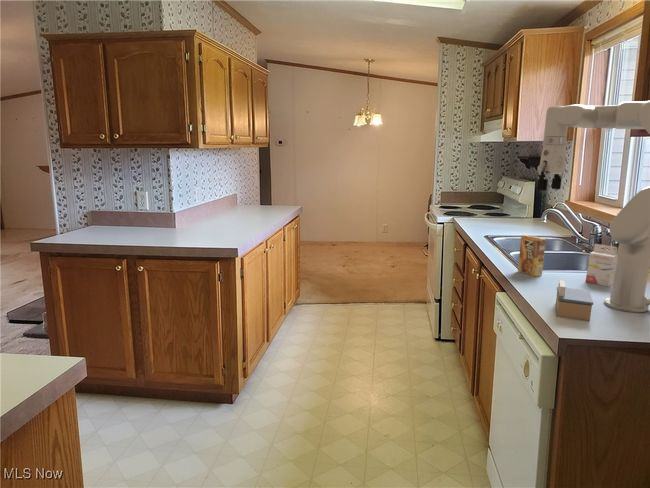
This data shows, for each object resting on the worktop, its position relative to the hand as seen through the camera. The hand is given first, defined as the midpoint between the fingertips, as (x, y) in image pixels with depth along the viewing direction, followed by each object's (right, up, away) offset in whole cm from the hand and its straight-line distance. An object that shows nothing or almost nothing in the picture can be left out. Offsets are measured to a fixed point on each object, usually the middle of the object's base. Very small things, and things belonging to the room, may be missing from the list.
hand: (548, 189), depth 181 cm
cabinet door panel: (-3, -37, -25) cm, 44 cm away
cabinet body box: (-4, -42, -24) cm, 48 cm away
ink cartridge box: (+24, -35, +11) cm, 44 cm away
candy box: (+2, -32, +22) cm, 39 cm away
